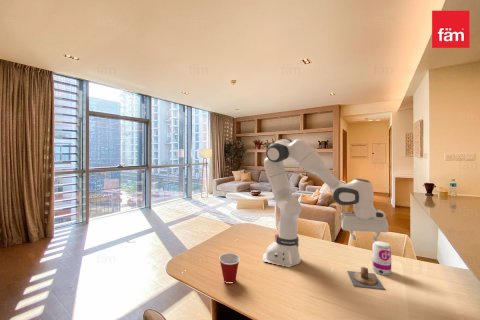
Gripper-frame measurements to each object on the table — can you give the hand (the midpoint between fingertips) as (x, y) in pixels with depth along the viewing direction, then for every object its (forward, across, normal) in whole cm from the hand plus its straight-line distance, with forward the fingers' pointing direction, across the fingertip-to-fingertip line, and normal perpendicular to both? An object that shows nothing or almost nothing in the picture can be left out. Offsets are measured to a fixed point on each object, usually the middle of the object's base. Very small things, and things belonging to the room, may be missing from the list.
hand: (364, 239), depth 106 cm
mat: (+20, 0, 0) cm, 20 cm away
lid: (+20, 0, 0) cm, 20 cm away
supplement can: (+20, +10, +10) cm, 25 cm away
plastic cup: (+19, -65, -15) cm, 70 cm away
